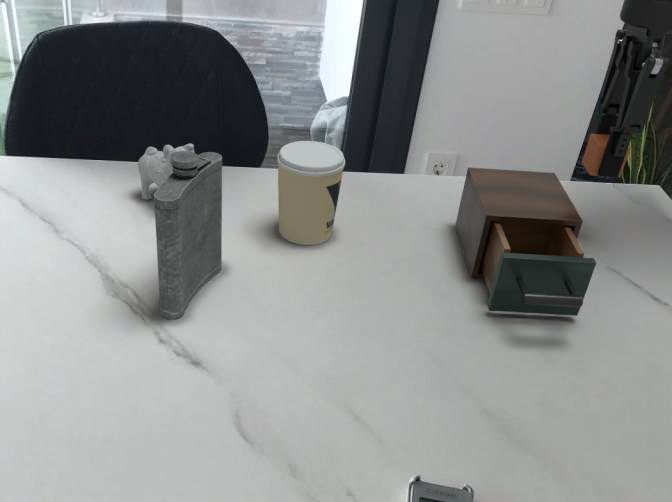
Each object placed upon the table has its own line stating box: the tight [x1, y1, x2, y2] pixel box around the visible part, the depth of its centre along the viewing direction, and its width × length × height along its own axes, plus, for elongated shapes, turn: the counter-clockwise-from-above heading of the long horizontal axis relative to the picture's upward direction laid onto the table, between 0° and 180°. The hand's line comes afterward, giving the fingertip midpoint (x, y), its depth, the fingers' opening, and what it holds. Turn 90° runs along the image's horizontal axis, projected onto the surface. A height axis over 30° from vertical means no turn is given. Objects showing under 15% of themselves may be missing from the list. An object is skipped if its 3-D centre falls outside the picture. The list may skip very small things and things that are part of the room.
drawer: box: [480, 221, 597, 317], centre depth 99 cm, size 18×11×8 cm, turn 179°
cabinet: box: [454, 167, 584, 280], centre depth 109 cm, size 15×13×10 cm
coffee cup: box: [276, 140, 346, 246], centre depth 109 cm, size 9×9×12 cm
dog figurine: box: [137, 143, 195, 201], centre depth 114 cm, size 5×13×11 cm, turn 44°
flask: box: [153, 151, 223, 321], centre depth 94 cm, size 4×14×18 cm, turn 160°
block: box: [581, 133, 631, 178], centre depth 110 cm, size 4×4×4 cm
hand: (602, 167), depth 111 cm, fingers closed on block, 4 cm apart
